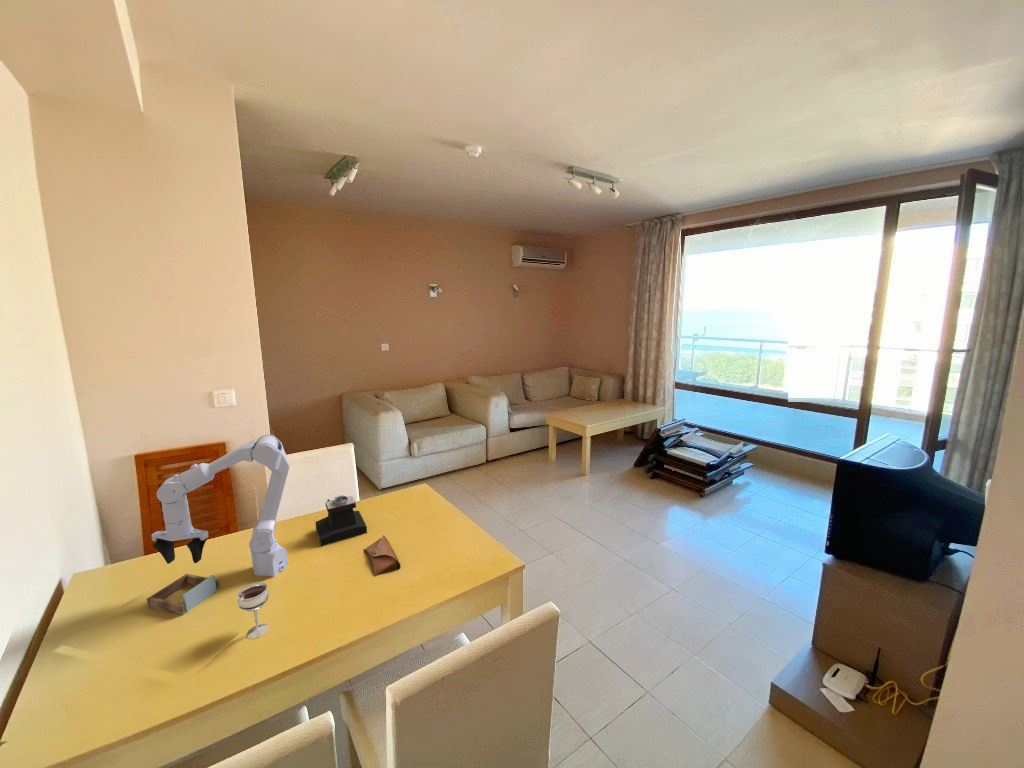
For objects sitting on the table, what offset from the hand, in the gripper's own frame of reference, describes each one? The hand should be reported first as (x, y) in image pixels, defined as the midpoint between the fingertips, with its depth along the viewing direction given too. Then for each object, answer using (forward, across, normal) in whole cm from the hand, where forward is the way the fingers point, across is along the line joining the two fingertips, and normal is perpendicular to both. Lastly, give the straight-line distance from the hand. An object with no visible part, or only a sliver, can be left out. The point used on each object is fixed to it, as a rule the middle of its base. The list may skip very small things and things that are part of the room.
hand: (184, 561), depth 120 cm
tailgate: (+8, -8, +6) cm, 13 cm away
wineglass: (+10, -30, +17) cm, 35 cm away
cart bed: (+10, -3, +5) cm, 11 cm away
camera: (+10, -32, -32) cm, 47 cm away
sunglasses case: (+10, -53, -14) cm, 56 cm away
